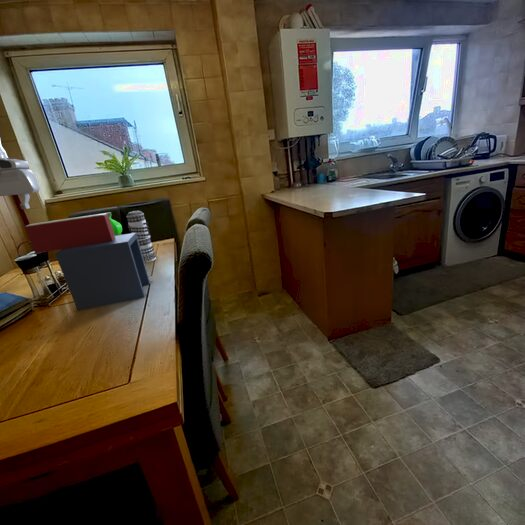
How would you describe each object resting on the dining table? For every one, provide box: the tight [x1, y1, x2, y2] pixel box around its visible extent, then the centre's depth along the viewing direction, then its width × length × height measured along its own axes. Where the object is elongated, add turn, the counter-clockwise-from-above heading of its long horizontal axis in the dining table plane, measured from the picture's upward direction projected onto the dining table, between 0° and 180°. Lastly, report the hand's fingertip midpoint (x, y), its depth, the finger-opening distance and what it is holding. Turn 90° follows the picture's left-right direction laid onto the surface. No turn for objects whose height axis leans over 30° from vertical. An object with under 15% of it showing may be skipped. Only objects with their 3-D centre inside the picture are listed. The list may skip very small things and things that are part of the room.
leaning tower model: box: [126, 210, 157, 264], centre depth 137 cm, size 9×9×25 cm
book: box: [23, 212, 115, 254], centre depth 94 cm, size 24×4×9 cm, turn 103°
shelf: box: [54, 232, 151, 311], centre depth 100 cm, size 22×14×21 cm, turn 103°
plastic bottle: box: [105, 211, 123, 236], centre depth 146 cm, size 10×10×25 cm
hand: (10, 210), depth 88 cm, fingers open, 8 cm apart
